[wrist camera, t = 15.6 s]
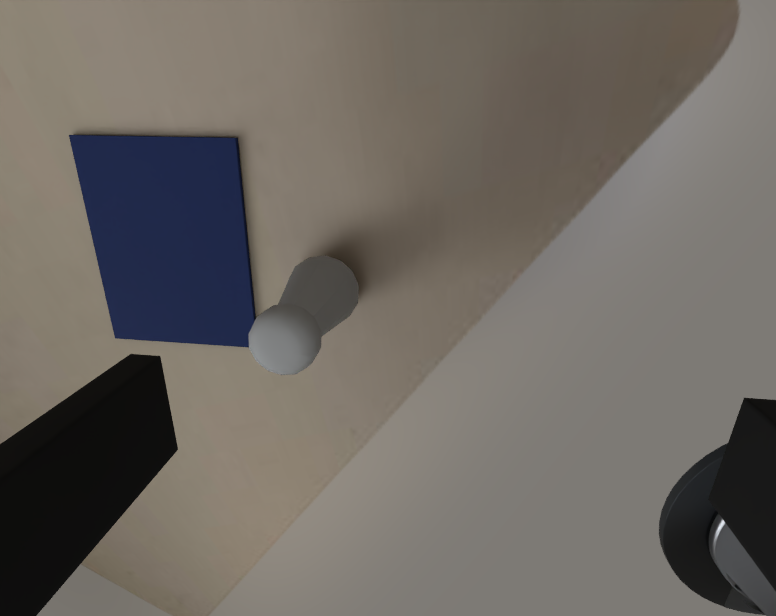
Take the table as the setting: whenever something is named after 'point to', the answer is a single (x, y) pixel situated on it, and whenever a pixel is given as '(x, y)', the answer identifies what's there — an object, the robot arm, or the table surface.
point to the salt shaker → (303, 315)
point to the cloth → (169, 236)
